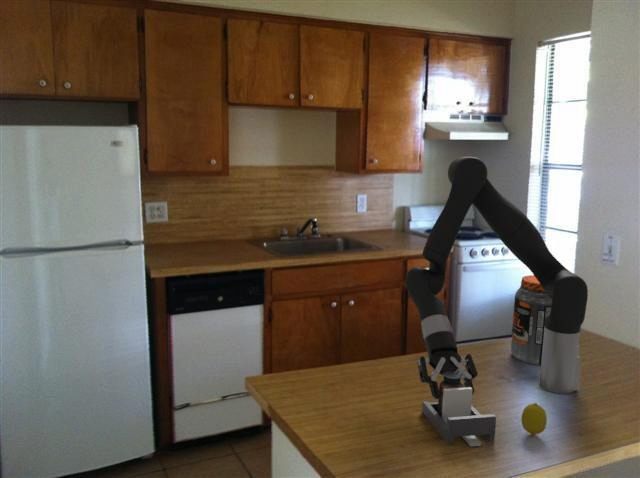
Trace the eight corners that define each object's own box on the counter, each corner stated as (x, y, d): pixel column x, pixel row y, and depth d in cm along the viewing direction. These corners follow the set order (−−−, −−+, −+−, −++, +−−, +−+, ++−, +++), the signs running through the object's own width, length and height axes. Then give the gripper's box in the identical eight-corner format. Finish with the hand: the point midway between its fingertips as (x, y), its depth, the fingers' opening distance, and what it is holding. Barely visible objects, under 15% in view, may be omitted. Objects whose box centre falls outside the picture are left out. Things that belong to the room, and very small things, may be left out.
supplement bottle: (462, 425, 140) (465, 381, 138) (437, 422, 141) (439, 378, 139) (461, 414, 145) (464, 371, 144) (437, 411, 147) (440, 369, 145)
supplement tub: (506, 347, 195) (512, 272, 190) (554, 350, 193) (562, 275, 188) (515, 364, 179) (521, 283, 175) (568, 368, 177) (576, 286, 173)
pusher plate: (468, 421, 141) (470, 387, 139) (489, 444, 130) (492, 407, 129) (441, 423, 140) (443, 388, 138) (460, 447, 129) (463, 409, 127)
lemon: (544, 432, 137) (547, 400, 136) (545, 443, 132) (548, 410, 131) (520, 427, 139) (523, 396, 138) (520, 438, 134) (522, 406, 133)
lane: (463, 409, 148) (465, 387, 147) (494, 440, 133) (496, 416, 132) (422, 412, 146) (423, 390, 145) (447, 444, 131) (449, 420, 130)
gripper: (416, 330, 145) (431, 393, 136) (469, 328, 148) (487, 389, 139) (408, 343, 151) (422, 404, 142) (459, 341, 154) (475, 400, 145)
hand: (454, 396), depth 140 cm, fingers open, 8 cm apart
